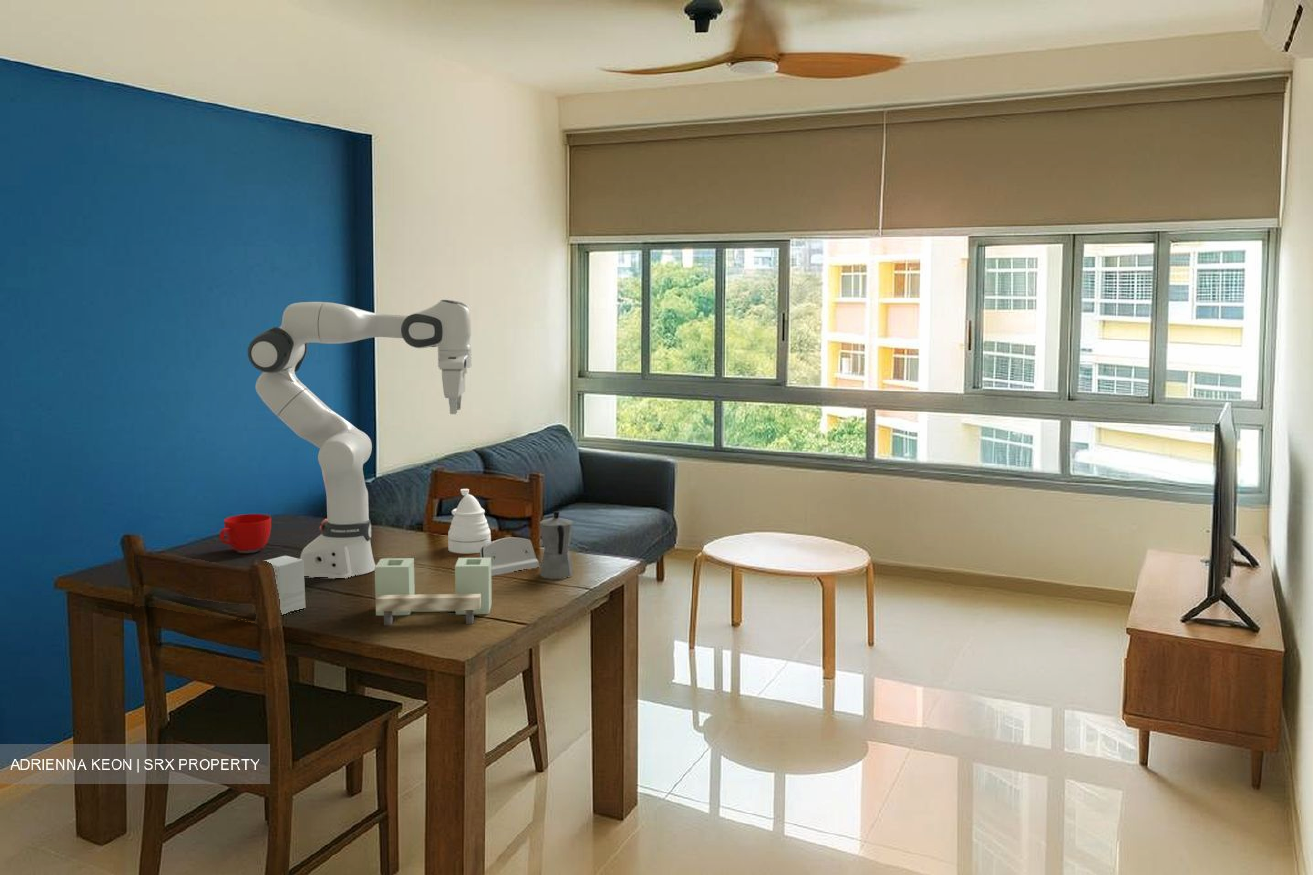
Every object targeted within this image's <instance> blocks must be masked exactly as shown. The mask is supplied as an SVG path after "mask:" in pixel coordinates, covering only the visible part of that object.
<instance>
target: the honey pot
mask: <svg viewBox="0 0 1313 875" xmlns="http://www.w3.org/2000/svg"><path fill="white" fill-rule="evenodd" d="M460 493H461V495H462V496H463V497H462V498H461V500H460V501H459V503H458V505H457V507H456V508H453V509H452V510H451V514H452V515H453V517H452V520H451V522H450V523H451V524H450V526H449V530H448V532H447V534H448V537H447V540H448V542H447V544H448V547H447V548H448V551H449V552H450V553H455V554H465V555H466V554H480V549H481V548H482V547H483V546H485V545H486V544H488V543H490V542H492V535H491V529H490V528H489V523H488V519H487V518H486V516H485V513H486V511H485V509H484V508H483V507H482V506H481V504H480V503H479V500H478V499H477V498H476V497H475V496H474V495H472V494H470V489H469V488H461V489H460Z"/></svg>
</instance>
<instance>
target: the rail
mask: <svg viewBox="0 0 1313 875" xmlns="http://www.w3.org/2000/svg"><path fill="white" fill-rule="evenodd" d="M480 607H481V594H455V593H436V594H435V593H434V594H432V593H431V594H425V593H424V594H423V593H422V594H420V593H419V594H415V595H378V596H377V597H376V596H375V612H376V611H384V615H383V626H391V625H392V623H393V620H394V619H393V616H394V615H393V611H427V610H466V614H465V625H473V623H474V616H475V614H474V610H480Z"/></svg>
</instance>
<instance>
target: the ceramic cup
mask: <svg viewBox="0 0 1313 875" xmlns="http://www.w3.org/2000/svg"><path fill="white" fill-rule="evenodd" d="M223 524H224V528H222V529H221V530H220V532H219V539H220V540H221V542H222V543H223V544H225V545H228V546H231V548H232V550H235V551H236V550H239V551H248V550H256V549H261V548H265V546H266V545H267V543H268V541H269V539H270V536H271V531H272V517H271V516H270V515H268V514H261V513H248V514H237V515H233V516H229V517H227V518H225V519H223ZM225 536H226V538H225Z"/></svg>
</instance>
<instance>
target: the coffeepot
mask: <svg viewBox="0 0 1313 875" xmlns="http://www.w3.org/2000/svg"><path fill="white" fill-rule="evenodd" d="M552 514H553V517H549V518H547V519H543V520H541V521H540V522H539V528H540V529H539V530H540V536H541V541H542V542H541V543H542V546H543V547H544V548H543V549H544V552H543V554H542V560H541V564H540V565H541V566H540V571H539V572H540V573H539V576H541V577H542V578H544V579H547V578H548V579H549V580H561V579H560V578H564V577H568V576H571V575H572V576H573V574H572V573H574V570H573V565H572V558H571V553H570V551H569V546H570V545H571V540H572V539H571V538H572V532H573V526H574V521H573V520H570V519H567V518H562V517H560V511H556V510H555V511H553V513H552ZM572 576H571V577H572ZM568 578H569V577H568ZM548 579H547V580H548Z"/></svg>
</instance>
